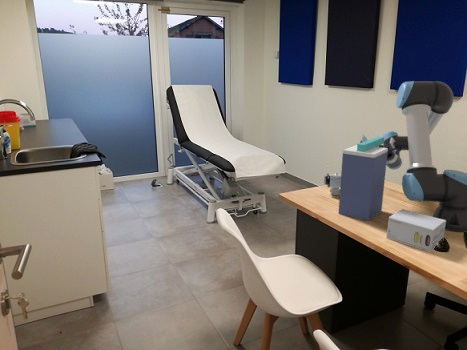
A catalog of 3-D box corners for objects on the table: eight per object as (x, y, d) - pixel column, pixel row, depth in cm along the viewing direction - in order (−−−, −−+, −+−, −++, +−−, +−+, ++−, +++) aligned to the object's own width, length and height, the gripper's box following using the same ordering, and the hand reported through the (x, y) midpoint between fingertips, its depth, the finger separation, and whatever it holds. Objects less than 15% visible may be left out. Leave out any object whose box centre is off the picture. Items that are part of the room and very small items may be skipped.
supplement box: (385, 238, 153) (388, 216, 150) (400, 229, 161) (402, 208, 159) (430, 252, 141) (433, 229, 138) (443, 241, 150) (446, 219, 147)
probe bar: (377, 142, 186) (377, 136, 185) (383, 143, 184) (384, 137, 183) (356, 150, 168) (357, 144, 167) (363, 151, 166) (364, 145, 165)
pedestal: (352, 204, 190) (357, 144, 182) (381, 210, 181) (387, 148, 173) (338, 213, 178) (343, 150, 170) (368, 221, 170) (374, 154, 161)
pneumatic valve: (323, 192, 207) (324, 171, 204) (345, 193, 207) (346, 171, 204) (325, 196, 202) (326, 174, 199) (347, 196, 202) (349, 174, 199)
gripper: (411, 164, 188) (401, 149, 171) (361, 157, 203) (348, 142, 187) (415, 150, 189) (406, 133, 172) (365, 144, 204) (352, 128, 188)
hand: (376, 138), depth 179 cm, fingers open, 13 cm apart
